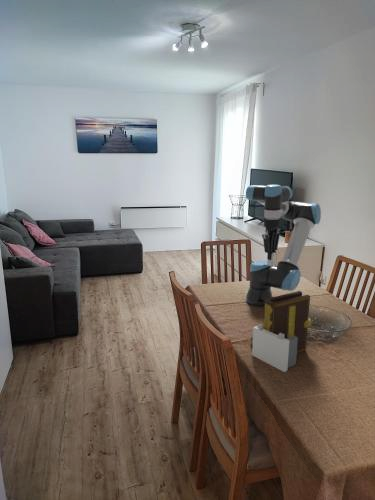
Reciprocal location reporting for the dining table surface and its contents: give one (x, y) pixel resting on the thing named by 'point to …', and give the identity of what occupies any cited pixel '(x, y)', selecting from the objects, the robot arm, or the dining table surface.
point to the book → (288, 316)
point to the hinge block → (252, 340)
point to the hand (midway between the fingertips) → (270, 265)
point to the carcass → (274, 348)
